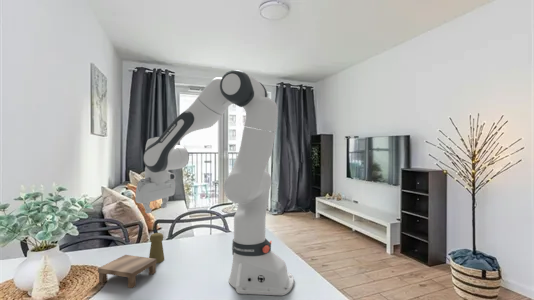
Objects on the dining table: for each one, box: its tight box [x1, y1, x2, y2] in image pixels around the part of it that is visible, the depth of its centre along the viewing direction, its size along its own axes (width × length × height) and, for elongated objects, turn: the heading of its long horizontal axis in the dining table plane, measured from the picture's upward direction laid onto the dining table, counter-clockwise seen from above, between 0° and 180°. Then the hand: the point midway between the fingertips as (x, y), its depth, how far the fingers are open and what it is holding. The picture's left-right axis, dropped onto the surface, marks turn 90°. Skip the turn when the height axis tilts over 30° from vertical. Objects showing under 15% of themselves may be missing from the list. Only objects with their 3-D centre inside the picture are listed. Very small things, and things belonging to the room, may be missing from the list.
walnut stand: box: [97, 254, 158, 289], centre depth 95 cm, size 14×12×5 cm
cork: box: [148, 232, 165, 264], centre depth 109 cm, size 6×6×11 cm
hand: (156, 210), depth 109 cm, fingers open, 8 cm apart
